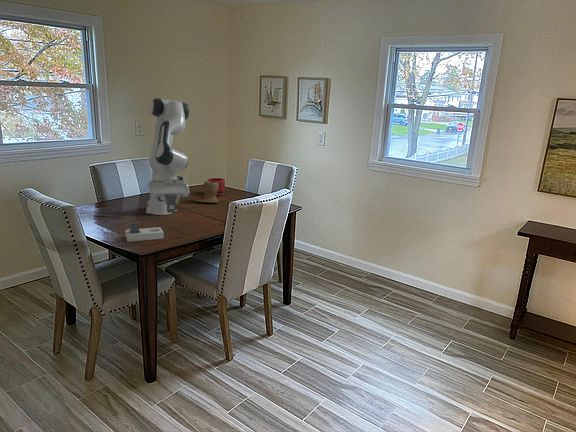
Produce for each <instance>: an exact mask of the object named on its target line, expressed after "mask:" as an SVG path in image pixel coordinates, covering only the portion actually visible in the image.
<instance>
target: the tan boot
mask: <svg viewBox="0 0 576 432" xmlns="http://www.w3.org/2000/svg"><path fill="white" fill-rule="evenodd" d="M218 187H219V184H218V183H216V182H209V181H208V180H205V181H204V182H203V192H204V193H203V196H199V197H197V198H196V202H197V203H209V204H214V203H215V204H217V203H219V202H220V200H219V199H218V198H217V196H216V195H217V192H218Z"/></svg>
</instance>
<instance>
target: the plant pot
mask: <svg viewBox="0 0 576 432" xmlns="http://www.w3.org/2000/svg"><path fill="white" fill-rule="evenodd" d="M207 181H209V182H216V183H218V184H219V187H218V192H217V195H220V196H223V195H224V194H225V192H224V190H225V187H226V186H225V185H226V179H224V178H219V177H217V178H216V177H214V178H213V177H211V178H208V179H207ZM217 195H216V197H218V196H217Z"/></svg>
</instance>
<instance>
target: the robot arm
mask: <svg viewBox="0 0 576 432" xmlns="http://www.w3.org/2000/svg"><path fill="white" fill-rule="evenodd" d="M150 113H151V115H153V116H154V117H156V120H155V125H154V134H153V139H152V145H151V150H150V154H149V158H148V164H149V167H150V168H151V169H152V174H151V180H150V181H149V182H148V183H147V186H148V188H149V196H150V199H149V200H147V202H146V203H147V206H146V209H145V213H146V214H150V215H155V216H156V215H157V216H159V215H160V216H167V215H170V214H172V213H168V212H167V203H168V201H167V195H172V194H175V196H176V205H177V204H178V203H179V199H180V197H183V198H185V197H188V196H189V195H190V188H189V185H188V183H187V181H186V177H184V176H181V175H178V174H176V173H179V172H182V171H184V170H185V169H187V167H188V165H189V157H188V155H187V154H185V153H183V152H181V151H179V150H176V149H175V148H173V147H172V145H173V140H174V139H173V138H174V136H175V135H180V134H181V133H183V132H184V131H185V129H186V120H188V118H189V116H190V107H189V104H187V103H185V102H181V101H178V100H175V99H167V98H164V99H163V98H159V97H156V98H153V99H152V101H151V103H150Z"/></svg>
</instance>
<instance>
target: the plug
mask: <svg viewBox="0 0 576 432" xmlns="http://www.w3.org/2000/svg"><path fill="white" fill-rule="evenodd" d="M176 199H177V198H176V196H175V194H172V195H167V201H168V203H167V212H168V213H171V214H174V213H176V212H177V209H176V208H177V207H176V205H177V204H176Z"/></svg>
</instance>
